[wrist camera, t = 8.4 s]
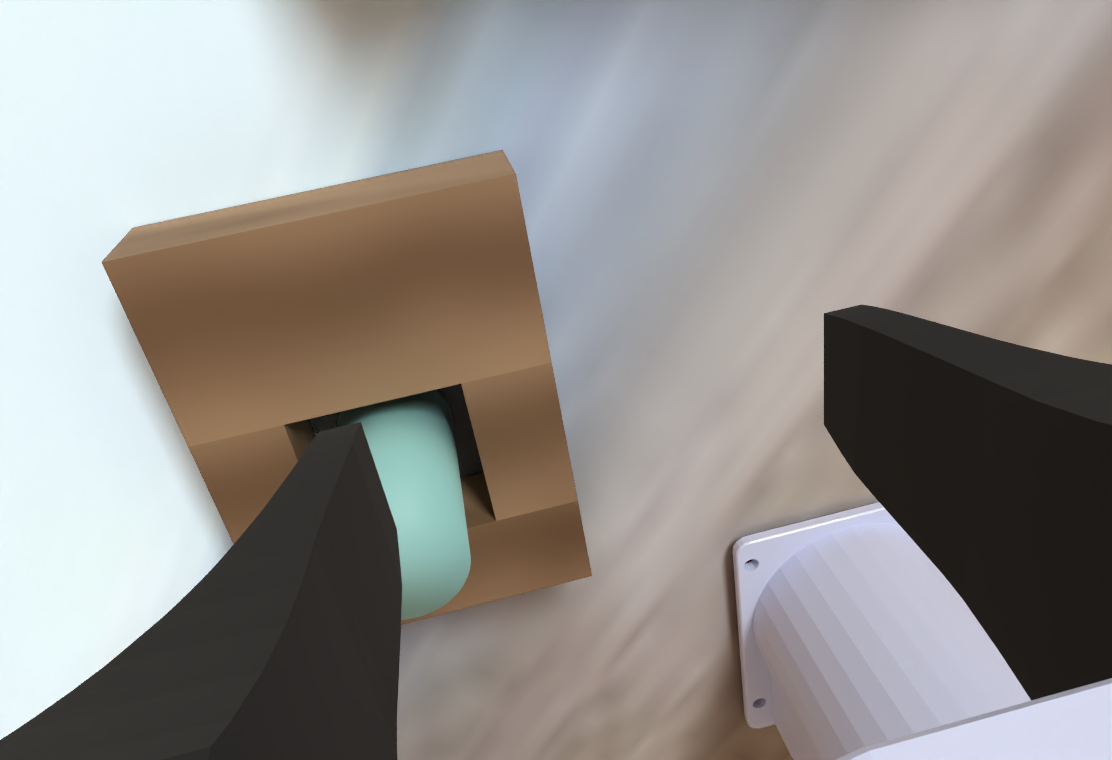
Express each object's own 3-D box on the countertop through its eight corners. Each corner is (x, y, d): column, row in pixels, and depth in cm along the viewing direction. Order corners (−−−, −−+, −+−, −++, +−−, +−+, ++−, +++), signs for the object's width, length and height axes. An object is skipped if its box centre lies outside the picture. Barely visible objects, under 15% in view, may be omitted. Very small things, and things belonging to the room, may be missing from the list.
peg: (463, 458, 24) (483, 600, 19) (355, 483, 24) (345, 635, 19) (438, 364, 22) (453, 491, 17) (323, 390, 22) (303, 527, 17)
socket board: (575, 525, 26) (591, 575, 24) (294, 595, 25) (285, 653, 23) (502, 149, 20) (515, 173, 18) (132, 227, 19) (101, 262, 17)
